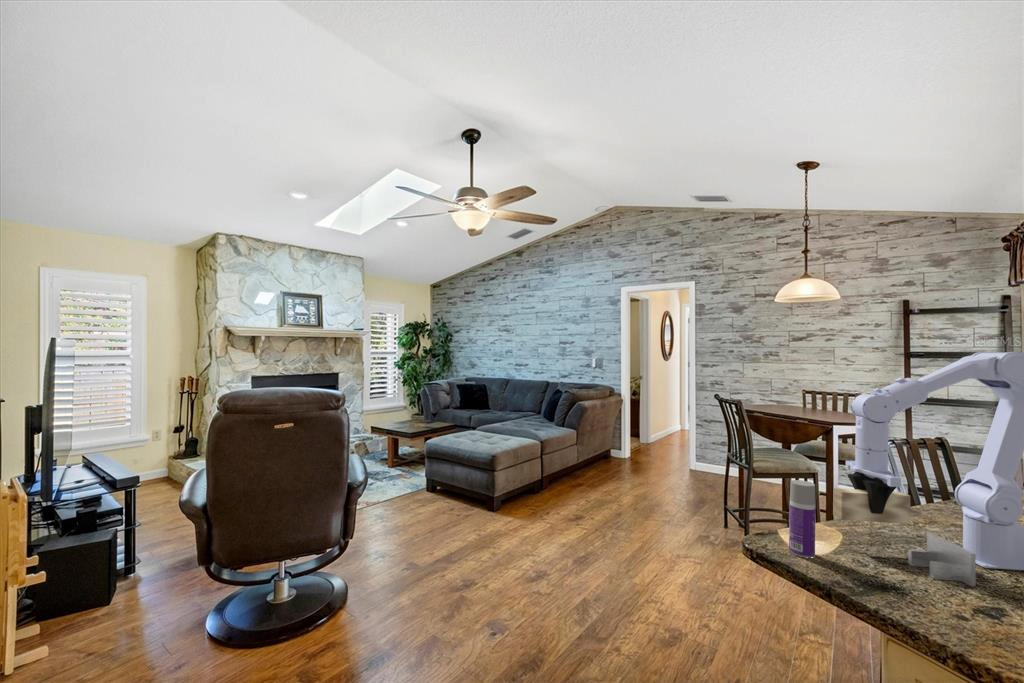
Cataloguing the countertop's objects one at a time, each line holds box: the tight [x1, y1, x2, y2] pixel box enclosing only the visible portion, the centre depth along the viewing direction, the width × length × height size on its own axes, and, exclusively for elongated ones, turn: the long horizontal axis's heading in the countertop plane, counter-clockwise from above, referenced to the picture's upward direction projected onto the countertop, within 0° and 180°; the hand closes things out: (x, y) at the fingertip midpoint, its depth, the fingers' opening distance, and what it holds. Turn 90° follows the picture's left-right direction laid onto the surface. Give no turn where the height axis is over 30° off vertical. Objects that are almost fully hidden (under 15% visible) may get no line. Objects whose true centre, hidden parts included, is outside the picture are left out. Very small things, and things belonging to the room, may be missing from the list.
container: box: [788, 479, 817, 559], centre depth 97 cm, size 5×5×15 cm
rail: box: [832, 487, 911, 524], centre depth 100 cm, size 14×3×6 cm, turn 85°
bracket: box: [907, 532, 977, 587], centre depth 90 cm, size 6×10×6 cm, turn 175°
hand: (870, 510), depth 100 cm, fingers closed on rail, 3 cm apart
